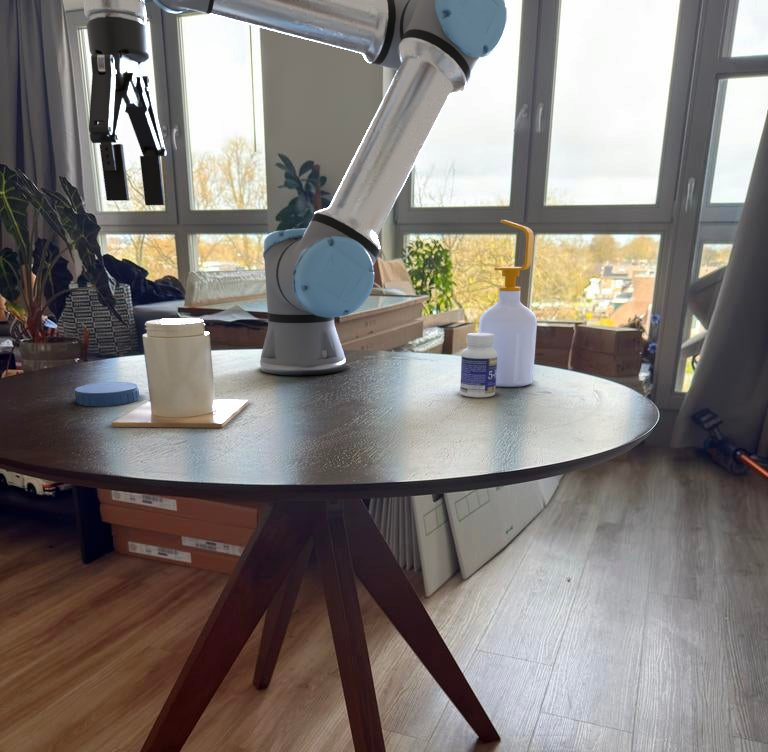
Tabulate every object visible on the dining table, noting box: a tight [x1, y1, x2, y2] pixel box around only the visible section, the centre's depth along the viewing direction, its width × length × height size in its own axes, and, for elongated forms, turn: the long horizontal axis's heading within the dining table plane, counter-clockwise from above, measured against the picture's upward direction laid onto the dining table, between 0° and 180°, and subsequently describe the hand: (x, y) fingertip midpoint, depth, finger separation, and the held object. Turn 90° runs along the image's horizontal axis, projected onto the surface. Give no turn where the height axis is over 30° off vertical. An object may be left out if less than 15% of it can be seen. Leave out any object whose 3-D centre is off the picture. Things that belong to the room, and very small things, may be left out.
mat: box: [111, 399, 249, 429], centre depth 97 cm, size 14×14×1 cm
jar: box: [141, 317, 217, 418], centre depth 94 cm, size 8×8×12 cm
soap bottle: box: [478, 219, 538, 388], centre depth 113 cm, size 9×9×25 cm
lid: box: [74, 381, 140, 407], centre depth 105 cm, size 9×9×2 cm
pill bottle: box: [459, 332, 497, 398], centre depth 107 cm, size 5×5×9 cm
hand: (137, 203), depth 100 cm, fingers open, 13 cm apart
